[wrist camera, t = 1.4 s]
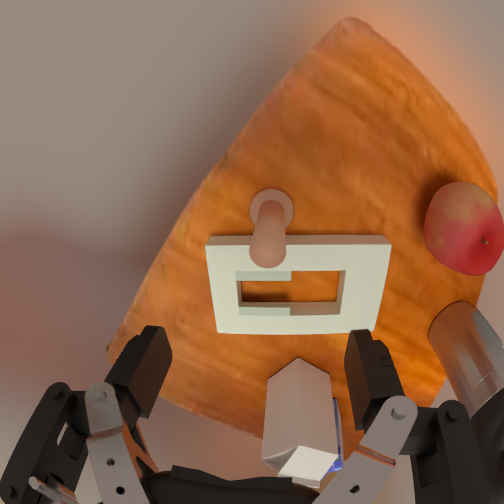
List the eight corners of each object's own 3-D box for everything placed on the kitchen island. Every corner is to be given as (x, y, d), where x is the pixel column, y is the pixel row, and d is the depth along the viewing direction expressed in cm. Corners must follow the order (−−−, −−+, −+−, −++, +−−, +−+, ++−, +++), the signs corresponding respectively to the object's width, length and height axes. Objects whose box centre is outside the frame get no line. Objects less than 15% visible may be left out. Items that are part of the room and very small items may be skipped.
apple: (477, 208, 26) (525, 236, 17) (437, 262, 29) (476, 304, 20) (439, 158, 24) (493, 174, 15) (394, 219, 28) (436, 256, 19)
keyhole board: (383, 235, 29) (391, 244, 26) (368, 317, 34) (373, 331, 31) (211, 235, 31) (204, 245, 28) (221, 319, 36) (217, 332, 33)
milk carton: (297, 356, 38) (299, 474, 20) (329, 373, 39) (340, 481, 22) (267, 378, 40) (257, 485, 23) (299, 393, 42) (299, 492, 24)
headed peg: (293, 187, 28) (301, 220, 18) (293, 228, 30) (299, 280, 20) (249, 188, 28) (232, 220, 18) (251, 229, 30) (237, 280, 20)
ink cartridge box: (306, 402, 43) (308, 472, 30) (336, 396, 42) (344, 466, 28) (315, 425, 46) (317, 485, 33) (341, 420, 45) (347, 480, 32)
